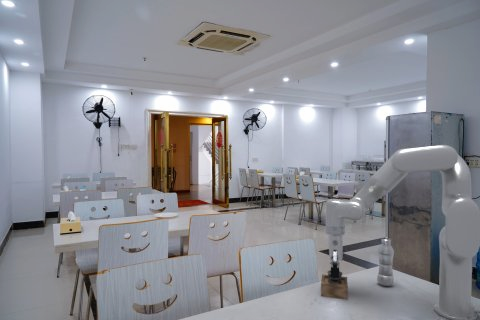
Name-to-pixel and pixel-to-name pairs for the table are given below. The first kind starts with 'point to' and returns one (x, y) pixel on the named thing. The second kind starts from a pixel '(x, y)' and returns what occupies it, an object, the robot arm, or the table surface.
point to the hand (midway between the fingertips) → (335, 273)
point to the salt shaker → (334, 280)
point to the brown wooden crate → (334, 288)
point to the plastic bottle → (385, 263)
